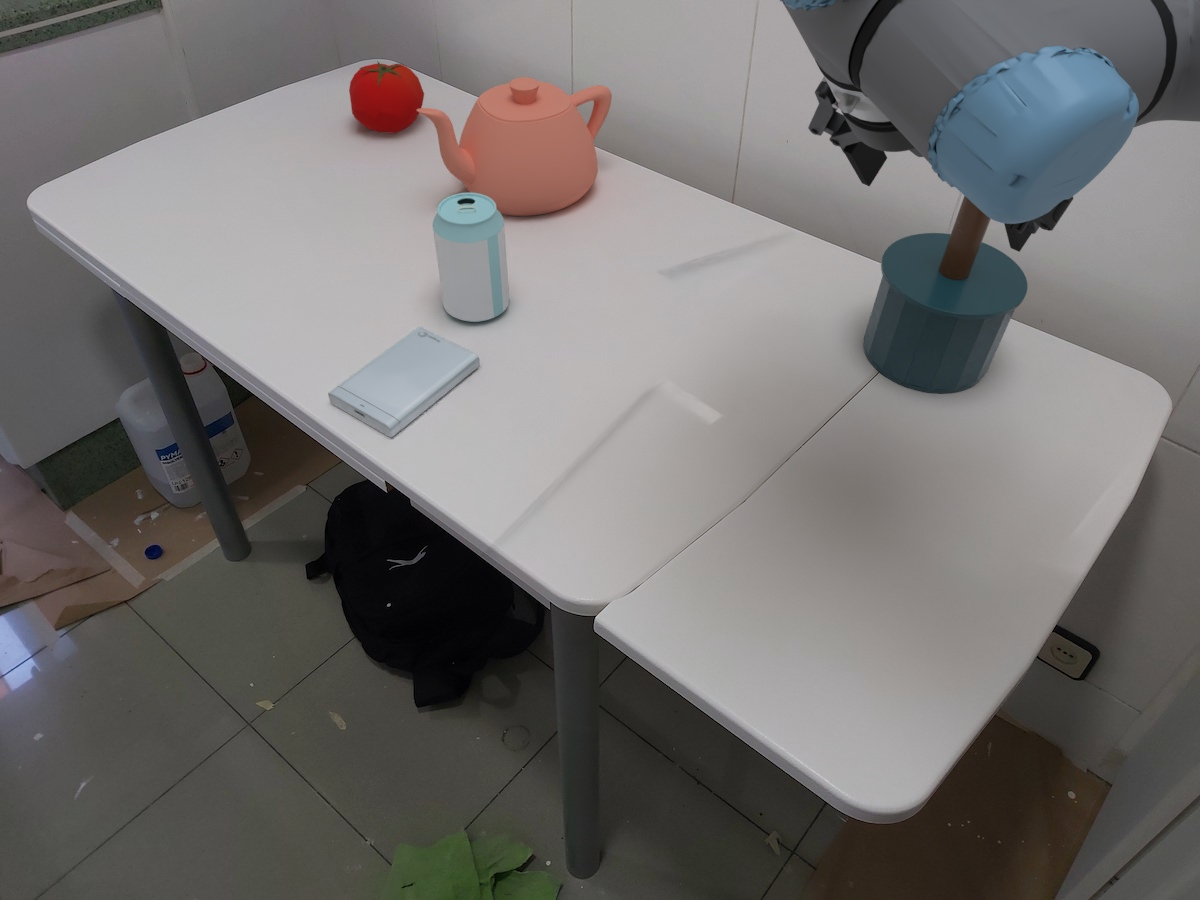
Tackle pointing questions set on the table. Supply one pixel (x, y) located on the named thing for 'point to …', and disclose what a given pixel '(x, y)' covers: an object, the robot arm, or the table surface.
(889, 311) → the pot
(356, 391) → the hard drive
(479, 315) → the can
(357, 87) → the tomato
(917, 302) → the lid
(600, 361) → the table surface
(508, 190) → the teapot
